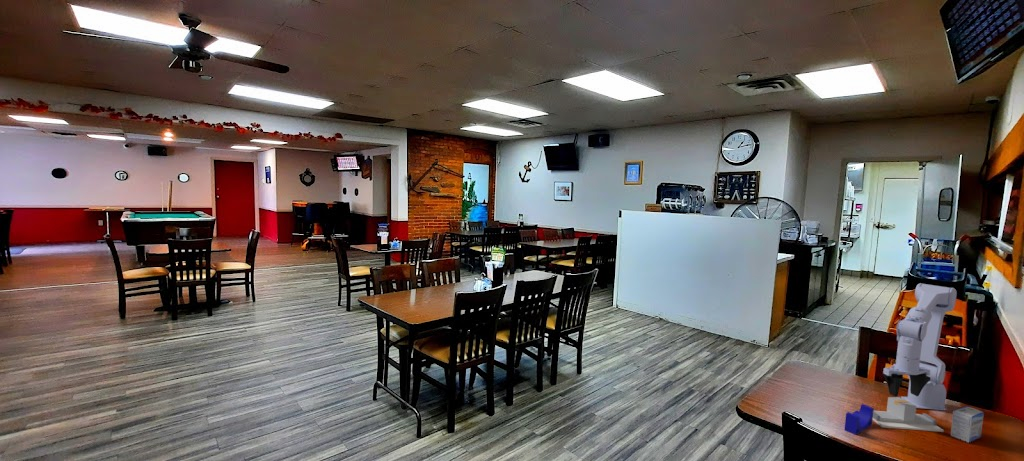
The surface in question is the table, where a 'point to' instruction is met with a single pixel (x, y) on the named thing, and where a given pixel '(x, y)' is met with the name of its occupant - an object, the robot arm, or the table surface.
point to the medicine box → (967, 424)
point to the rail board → (906, 422)
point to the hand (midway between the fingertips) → (903, 395)
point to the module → (901, 408)
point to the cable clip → (859, 419)
